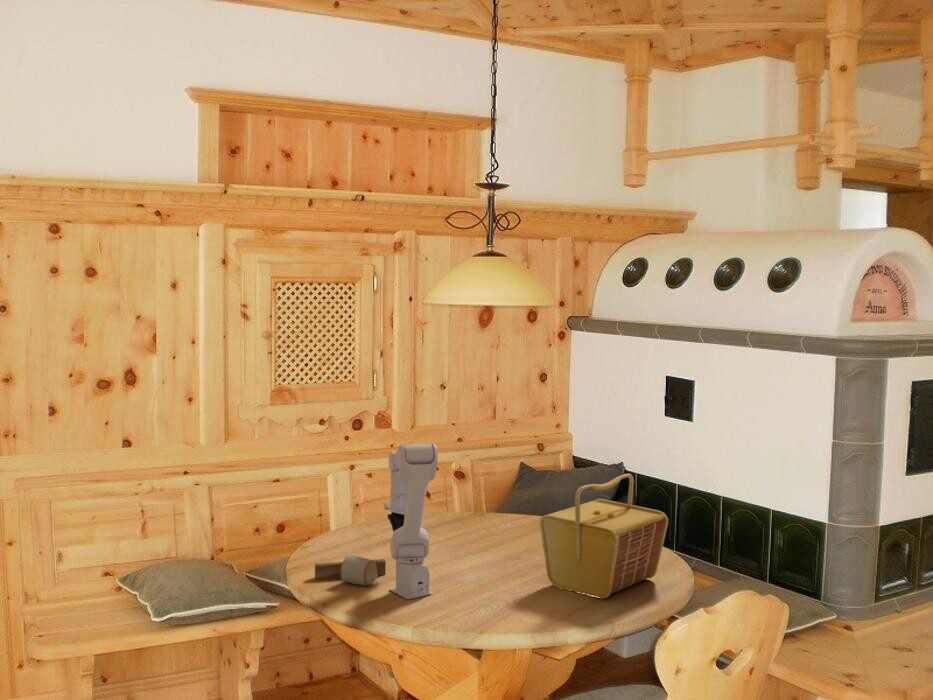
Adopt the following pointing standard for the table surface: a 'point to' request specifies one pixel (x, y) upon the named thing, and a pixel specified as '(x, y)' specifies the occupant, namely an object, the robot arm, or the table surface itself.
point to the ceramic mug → (358, 570)
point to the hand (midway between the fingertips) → (399, 539)
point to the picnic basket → (602, 543)
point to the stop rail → (335, 569)
